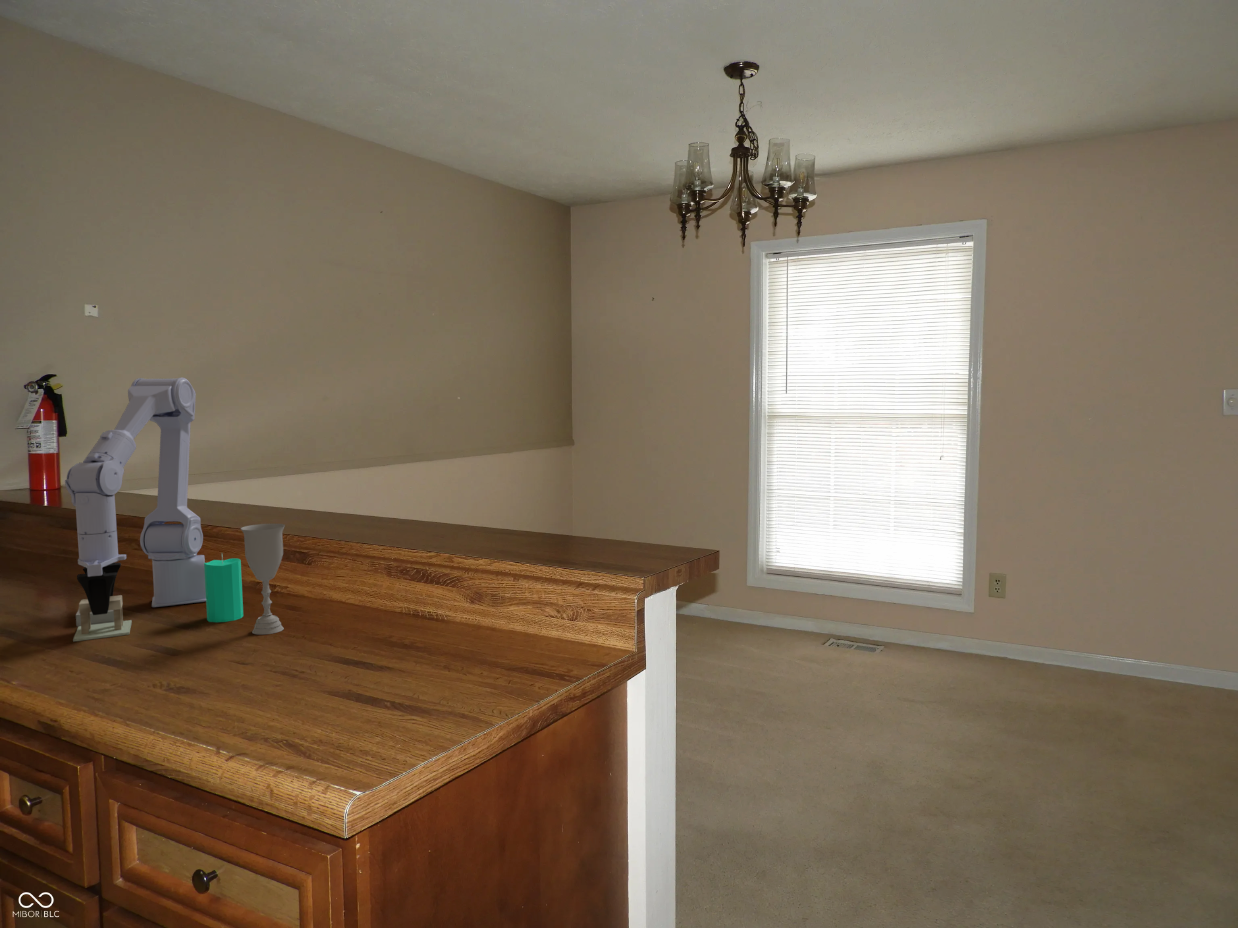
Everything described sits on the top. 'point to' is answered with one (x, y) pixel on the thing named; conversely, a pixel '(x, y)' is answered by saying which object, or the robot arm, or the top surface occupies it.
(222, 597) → the candle
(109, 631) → the mat
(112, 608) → the beige toy stool
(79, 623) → the step
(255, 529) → the chalice
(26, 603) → the top surface
